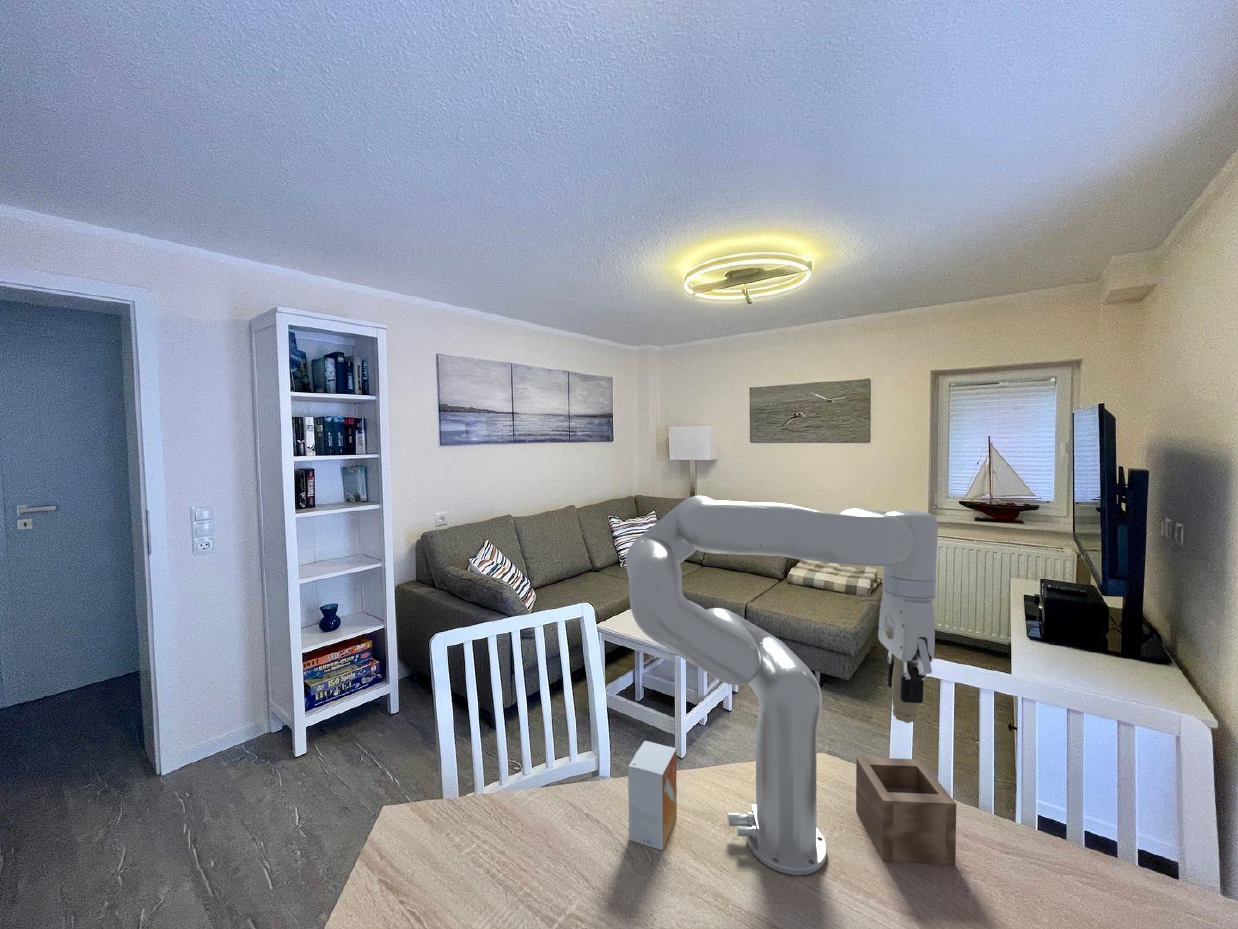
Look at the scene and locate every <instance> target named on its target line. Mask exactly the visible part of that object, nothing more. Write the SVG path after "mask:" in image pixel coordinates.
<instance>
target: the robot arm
mask: <svg viewBox="0 0 1238 929" xmlns="http://www.w3.org/2000/svg"><path fill="white" fill-rule="evenodd" d="M938 530H939V522H938V519H937V518H936V516H935V515H934V514H931V513H929V512H925V511H919V510H909V509H907V510H903V509H902V510H898V509H897V510H892V511H882V510H873V509H866V508H860V507H859V508H856V507H855V508H848V509H845V510H843V511H841V512H840V513H831V512H824V511H820V510H816V509H810V508H806V507H803V506H799V505H794V504H788V503H781V502H759V501H758V502H757V501H756V502H754V501H737V500H719V499H717V500H715V499H713V498H710V497H708V496H704V495H693V496H690V497H688V498H686V499H684V500H683V501H681V502H680V503H679V504H678V505H676V506H675V507H674V508H673V509H671V511H669V512H668V513H667V514H666V515H664V516H663V517H662V518H661V519H659V520H658V521H657V522H656V523H655V524H653V525H652V526H651V527H649V528H648V529H647V530H646V531H645V532H643V533H642V534H641V535H640V536H639V537H638V538H636V539H635V541H634V542H632V544H631V545H630V546H629V548H628V550H627V553H626V556H625V568H626V573H627V577H628V582H629V583H628V585H629V587H628V588H629V603H630V605H629V607H630V610H631V613H632V614H631V615H632V617H633V619H634V621H635V623H636V625H637V626H638V628H639V629H640V630H641V632H642V633H643V634H645V636H647V637H648V638H649V639H651V640H652V641H653V642H655V643H657V644H659V645H660V646H662V647H663V648H665V649H667V650H669V651H670V652H672V653H674V654H676V655H677V656H678V657H680V658H682V659H683V660H685V661H687V662H688V663H690V664H692V665H693V666H695V667H697V668H698V669H700V670H702V671H703V672H706V673H707V674H709V675H710V676H711V677H713V678H715V679H717V680H719V681H720V682H722V683H724V684H728V685H733V686H743V685H746V684H749V686H750V687H751V688H752V690H753V692H754V694H755V696H756V698H757V700H758V703H759V714H758V718H757V723H756V728H755V804H751V811H749V810H748V811H746V812H745V813H739V812H727V822H728V824H727V825H728V827H736V828H737V832H736V833H737V836H738V837H746V840H747V845H748V847H749V848H750V850H751V852H752V853H753V854H754V856H755V857H756V858H757V859H758V860H759V861H760V862H761V863H763V864H764V865H766V866H767V867H769V868H771V870H773V871H774V870H775V871H777V872H779V873H781V874H786V875H789V876H790V875H792V876H804V875H805V876H806V875H809V874H813V873H815V872H817V871H819V870H821V869H822V867H823V866H824V864H825V863H826V860H827V856H828V853H827V852H828V851H827V849H828V848H827V843H826V840H825V837H824V835H823V834H822V833H821V831H820V830H819V829H818V828H817V739H818V726H819V721H820V716H821V711H822V706H823V705H822V704H823V696H822V691H821V687H820V684H819V682H818V680H817V678H816V676H815V675H814V673H813V672H812V671H811V669H810V668H809V667H808V666H807V665H806V664H805V663H804V662H803V661H802V659H800V657H798V656H797V655H796V654H795V653H794V652H793V650H791V649H790V648H789V647H788V646H787V645H786V644H785V643H784V642H783V641H782V640H780V639H779V638H777V637H776V636H774V635H773V634H770V632H767V631H766V630H764V629H763V628H760V627H759V626H757V625H755V624H753V623H752V622H751V621H749V620H748V619H745V618H743V617H742V616H740V615H739V614H737V613H735V612H733V611H731V610H728V609H726V608H722V607H712V608H708V609H705V608H704V607H703V606H701V605H700V604H697V603H695V602H693V601H691V600H690V599H687V598H686V596H684V593H683V589H682V588H683V572H682V567H681V563H683V562H684V561H685V560H686V559H687V558H689V557H690V556H692V554H694V553H695V552H696V551H697V550H698V551H699V552H702V553H707V554H721V555H745V556H746V555H747V556H749V555H750V556H770V557H773V556H774V557H785V558H788V559H789V558H790V559H794V560H795V559H796V560H802V561H803V560H806V561H813V562H815V561H816V562H820V563H821V562H823V563H830V564H838V565H848V566H867V567H871V566H872V567H883V571H882V572H883V573H882V577H883V578H882V596H881V600H880V607H879V608H880V609H879V619H878V620H879V621H878V631H877V637H878V638H877V639H878V640H879V642H880V643H881V644H882V646H884V648H886V649H887V650H888V654H887V662H888V670H887V672H888V673H887V686H888V687H889V689H892V676H893V667H894V658H895V656H896V657H897V658H898V659H899V660H900V661H902V662H903V665H904V677H901V700H902V701H903V702H907V703H918V704H922V703H924V683H925V682H924V681H926V676H927V675H929V674H932V672H933V668H932V666H931V664H932V662H933V661H934V657H935V648H936V647H935V644H936V642H935V639H936V638H935V637H936V636H935V633H936V632H935V630H936V629H935V628H936V627H935V616H934V615H935V614H934V613H935V612H934V602H933V601H935V600H936V588H937V587H936V583H937V561H938V560H937V558H938V538H939V537H938V533H939V531H938ZM886 627H887V628H888V629H889V630H891V631H892V632H893V636H892V637H893V639H890V638H888V637H887V635H886ZM914 656H917V659H916V658H913V657H914ZM910 664H918V666H917V667H913V668H912V669H911V670H910Z"/></svg>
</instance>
